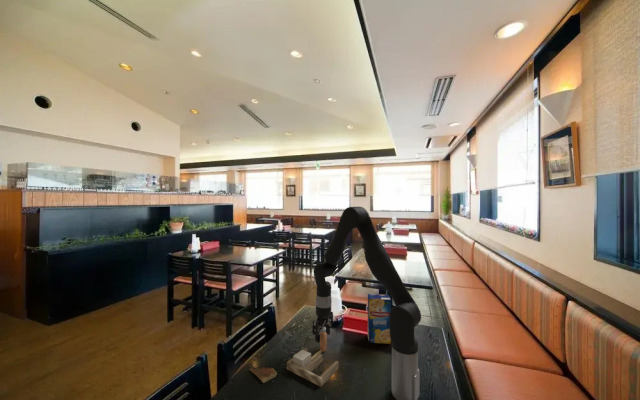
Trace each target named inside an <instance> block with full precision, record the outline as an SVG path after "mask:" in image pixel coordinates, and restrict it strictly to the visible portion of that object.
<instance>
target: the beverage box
mask: <svg viewBox="0 0 640 400" xmlns="http://www.w3.org/2000/svg"><path fill="white" fill-rule="evenodd" d="M391 309H392V297H391V296H390V294H380V293H379V294H378V293H377V294H376V293H375V294H374V293H367V338H368V343H369V342H370V343H369V344H371V343H373V344H389V345H392V341H391V339H390V329H389V315H390V311H391Z"/></svg>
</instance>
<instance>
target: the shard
mask: <svg viewBox="0 0 640 400" xmlns="http://www.w3.org/2000/svg"><path fill="white" fill-rule="evenodd" d="M249 372H251V373H252V374H254V375H255V376H256V377H257V378H258V379H259V380H260V382H262V383H263V384H264V383H267V382H268V381H270V380H272V379H273V378H276V376H277V374H278V373H277V371H276V370H275V369H274V367H249Z"/></svg>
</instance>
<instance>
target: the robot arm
mask: <svg viewBox="0 0 640 400" xmlns="http://www.w3.org/2000/svg"><path fill="white" fill-rule="evenodd" d="M354 229H357V230H358V233H359V234H360V236H361V238H362V241H363V249H364V250H363V251H364V259H365V261H366V264H367V266H368V268H369V270H370V272H371V274H372V275H373V277H374V278H375V279H376V281H378V282H379V283H380V284H381V285H382V286H383V287H384V288H385V290H387V292H388V293H389V296H390V298H391V300H393V302H394V304H395V306H393V307H391V311H390V315H389V329H390V339H391V395H392V397H394V398H395V400H418V399H419V397H420V389H421V388H420V380H421V379H420V377H421V376H420V368H419V342H418V340H417V339H416V338H415V328H416V326H418V325H419V324H420V322H421V321H422V313H421V310H420V308H419V306H418V304H417V303H416V301H415V300H414V298H413V296H412V295H411V294H410V292H409V291H408V289H407V287H406V286H405V283H404V282H403V281H402V279H401V276H400V274H399V272H398V271H397V269H396V267H395V265H394V262H393V261H392V259H391V257H390V255H389V253H388V252H387V250H386V248H385V247H384V244H383V243H382V240H381V239H380V237H379V235H378V233H377V231H376V228H375V226H374V223H373V222H372V219H371V216H370V213H369V212H368V210H367V209H365V208H364V207H363V206H348V207H346V208H344V210H343V211H342V213H341V215H340V218H339V221H338V224H337V227H336V230H335V232H334V235H333V238H332V240H331V242H330V243H329V246H328V247H327V249H326V251H325V253H324V255H323V259H324V261H323V262H319V263H316V264H315V266H314V267H313V276H314V282H315V285H316V295H315V315H316V316H317V318H316V320H313V321H312V327H311V328H312V330H311V333H312V334H313V335H314V336H315V339H314V341H315V342H316V343H319V344H320V333H321V332H322V331H323V329H324V327H325V332H326V333H327V335H328V336H330V334H331V327H332V325H334V311H332V302H333V301H332V284H331V282H329V281H327V280H326V278H328V277H331V276H332V275H334V274H335V272H336V269H337V266H338V262H339V260H340V259H341V258H342V255H343V254H344V252H345V248H346V242H347V241H346V240H347V237H348V236H349V235H350V234H351V232H352V230H354Z"/></svg>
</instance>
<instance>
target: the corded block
mask: <svg viewBox="0 0 640 400" xmlns="http://www.w3.org/2000/svg"><path fill="white" fill-rule="evenodd" d="M327 339H328V337H327V333H326V331H321V333H320V342H319V346H320V347H319V350H318V351H317V352H315V354H313V355H312V353H311V352H309V351H308V352H307V351H305V350H303V349H301V350H299V351H298V352H297V353H295V354H294V355H292V358H293V363H294V364H296V365H298V366H300V367H302V368H304V367H305V366H307V365H308V364H309V363H310V362H311V361H313V360H314V359H315V358H316V357H317V356H318V355H320V354H322V353H323V352H327V347H328V345H327Z"/></svg>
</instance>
